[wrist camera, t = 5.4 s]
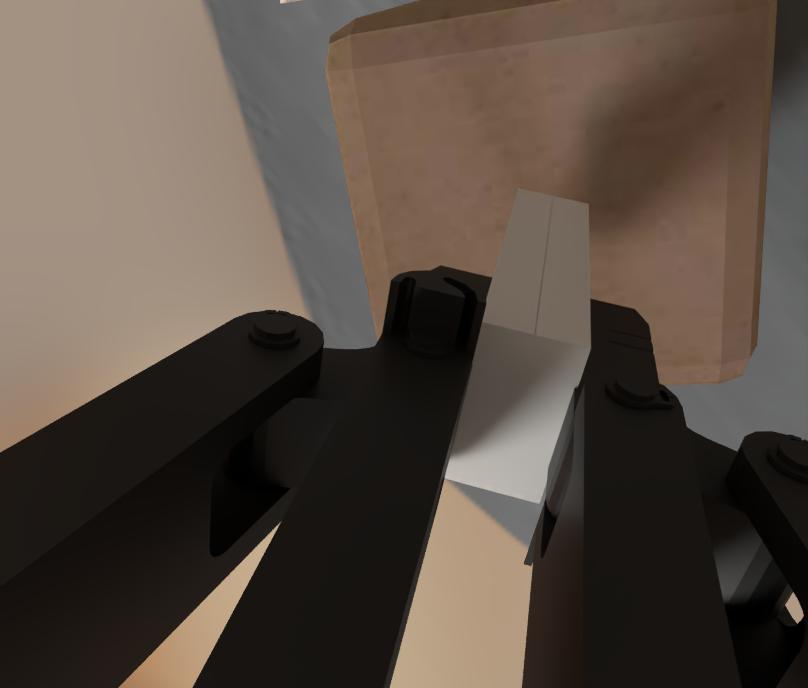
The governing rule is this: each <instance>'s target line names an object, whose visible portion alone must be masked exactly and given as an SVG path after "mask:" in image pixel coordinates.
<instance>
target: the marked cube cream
mask: <svg viewBox="0 0 808 688" xmlns="http://www.w3.org/2000/svg"><path fill="white" fill-rule="evenodd" d="M294 1H300V0H280V2H281V4H282V3H288V2H294Z"/></svg>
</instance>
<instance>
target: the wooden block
mask: <svg viewBox="0 0 808 688" xmlns="http://www.w3.org/2000/svg"><path fill="white" fill-rule="evenodd" d="M776 15H777V0H420V1H416V2H413V3H409V4H405V5H402V6H398V7H395V8H391V9H388V10H384V11H380V12H377V13H373V14H370V15H366V16H363V17H359V18H356V19H354V20H353V21H352V22H350V23H349V24H347V25H346V26H344V27H343V28H342V29H340V30H339V31H337V32H336V33H334V34H333V35H332V36H330V41H329V47H328V53H327V59H326V65H325V73H326V78H327V83H328V88H329V93H330V98H331V104H332V109H333V114H334V119H335V124H336V129H337V134H338V140H339V145H340V150H341V155H342V160H343V165H344V170H345V176H346V181H347V186H348V191H349V196H350V201H351V206H352V212H353V217H354V222H355V227H356V232H357V237H358V242H359V247H360V253H361V258H362V263H363V268H364V273H365V278H366V283H367V289H368V294H369V299H370V304H371V309H372V314H373V319H374V325H375V330H376V335H377V340H379V338H380V336H381V334H382V331H383V325H384V319H385V313H386V307H387V301H388V295H389V289H390V283H391V280H392V279H393V278H394V277H395V276H397V275H398V274H400V273H404V272H408V271H418V270H432V269H434V268H436V267H438V266H440V265H442V266H446V267H450V268H454V269H459V270H463V271H467V272H471V273H475V274H480V275H484V276H488V277H492V278H493V274H494V271H495V267H496V264H497V261H498V257H499V254H500V250H501V247H502V243H503V240H504V236H505V233H506V230H507V226H508V223H509V219H510V216H511V212H512V209H513V205H514V202H515V198H516V195H517V192H518V188H520V189H524V190H529V191H533V192H538V193H542V194H547V195H551V196H556V197H560V198H565V199H569V200H574V201H578V202H583V203H587V204H589V255H590V298H591V299H595V300H599V301H603V302H607V303H612V304H616V305H620V306H624V307H629V308H633V309H635V310H636V311H637V312H638V313H639V314H640V315H641V316H642V317H643V318H644V320H645V321H646V322H647V323H648V324H649V327H650V333H651V342H652V344H653V350H654V352H653V354H654V356H655V362H656V367H657V373H658V379H659V383H660V384H662V385H682V384H718V383H722V382H725V381H728V380H731V379H734V378H737V377H740V376H742V375H743V373H744V371H745V368H746V366H747V364H748V361H749V359H750V357H751V355H752V353H753V351H754V349H755V347H756V346H757V338H758V321H759V304H760V287H761V270H762V253H763V236H764V219H765V202H766V185H767V168H768V151H769V134H770V117H771V100H772V83H773V66H774V49H775V32H776Z"/></svg>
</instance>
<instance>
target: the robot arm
mask: <svg viewBox="0 0 808 688" xmlns="http://www.w3.org/2000/svg"><path fill="white" fill-rule="evenodd" d="M323 345H324V338H323V332H322V331H321V330H320V329H319V328H318V327H317V325H316V324H314V323H313V322H311V321H309V320H307V319H305V318H303V317H301V316H297V315H294V314H290V313H289V312H284V311H278V312H276V310H265V311H260V312H252V313H247V314H244V315H242V316H239V317H236V318H234V319H232V320H231V321H229V322H227V323H225V324H224V325H222V326H220V327H218V328H217V329H215V330H213V331H212V332H210V333H208V334H206V335H205V336H203V337H201V338H199V339H197V340H196V341H194V342H192V343H191V344H189V345H187V346H185V347H183V348H182V349H180V350H178V351H177V352H175V353H173V354H171V355H170V356H168V357H166V358H165V359H163V360H161V361H159V362H157V363H156V364H154V365H152V366H150V367H149V368H147V369H145V370H143V371H142V372H140V373H138V374H137V375H135V376H133V377H131V378H129V379H128V380H126V381H124V382H123V383H121V384H119V385H117V386H116V387H114V388H112V389H110V390H109V391H107V392H105V393H103V394H102V395H100V396H98V397H96V398H95V399H93V400H91V401H89V402H88V403H86V404H84V405H82V406H81V407H79V408H77V409H75V410H74V411H72V412H70V413H69V414H67V415H65V416H63V417H61V418H60V419H58V420H56V421H54V422H53V423H51V424H49V425H48V426H46V427H44V428H42V429H41V430H39V431H37V432H35V433H34V434H32V435H30V436H28V437H27V438H25V439H23V440H21V441H20V442H18V443H16V444H14V445H13V446H11V447H9V448H7V449H6V450H4V451H2V452H0V688H118V687H119V686H120V685H121V684H122V683H123V682H124V681H125V680H126V679H127V678H128V677H129V676H130V675H131V674H132V673H133V672H134V671H135V670H136V669H137V668H138V667H139V666H140V665H141V664H142V663H143V662H144V661H145V660H146V659H147V658H148V657H149V656H150V655H151V654H152V653H153V652H154V651H155V650H156V648H158V646H159V645H160V644H161V643H162V642H163V641H164V640H165V639H166V638H167V637H168V636H169V635H170V634H171V633H172V632H173V631H174V630H175V629H176V628H177V627H178V626H179V625H180V624H181V623H182V622H183V621H184V620H185V619H186V618H187V617H188V616H189V615H190V614H191V613H192V612H193V611H194V610H195V609H196V608H197V607H198V606H199V605H200V603H201V602H203V600H205V598H206V597H207V596H208V595H209V594H210V593H211V592H212V591H213V590H214V589H215V588H216V587H217V586H218V585H219V584H220V583H221V582H222V581H223V580H224V579H225V578H226V577H227V576H228V575H229V574H230V573H231V572H232V571H233V570H234V569H235V568H236V567H237V566H238V565H239V564H240V563H241V562H242V561H243V560H244V559H245V558H246V557H247V556H248V555H249V553H251V552H252V551H253V549H254V548H255V547H256V546H257V545H258V544H259V543H260V542H261V541H262V540H263V539H264V538H265V537H266V536H267V535H268V534H269V533H270V532H271V531H272V530H273V529H274V528H275V527H276V526H277V525H278V524H279V523H280V522H281V523H280V525H279V527H278V529H277V531H276V533H275V534H274V536H273V538H272V540H271V542H270V544H269V546H268V548H267V549H266V552H265V553H264V555H263V557H262V559H261V561H260V562H259V564H258V566H257V568H256V570H255V572H254V574H253V576H252V577H251V580H250V581H249V583H248V585H247V587H246V589H245V590H244V592H243V594H242V597H241V598H240V600H239V602H238V604H237V605H236V607H235V609H234V611H233V613H232V615H231V617H230V619H229V620H228V622H227V624H226V626H225V628H224V630H223V632H222V634H221V635H220V638H219V639H218V641H217V643H216V645H215V647H214V649H213V650H212V652H211V655H210V656H209V658H208V660H207V662H206V663H205V665H204V667H203V669H202V671H201V673H200V675H199V677H198V678H197V680H196V682H195V684H194V686H193V688H390V684H391V680H392V676H393V673H394V669H395V665H396V661H397V658H398V654H399V650H400V646H401V642H402V639H403V635H404V631H405V627H406V624H407V620H408V616H409V612H410V608H411V605H412V601H413V597H414V593H415V590H416V585H417V582H418V578H419V574H420V570H421V567H422V563H423V559H424V556H425V552H426V548H427V544H428V540H429V537H430V533H431V529H432V525H433V522H434V518H435V514H436V510H437V506H438V502H439V499H440V495H441V491H442V486H443V482H444V478H445V479H449V480H453V481H456V482H460V483H464V484H468V485H471V486H475V487H479V488H482V489H486V490H490V491H493V492H497V493H501V494H505V495H508V496H512V497H516V498H519V499H523V500H527V501H531V502H534V503H538V504H539V503H540V500H541V497H542V494H543V491H544V488H545V485H546V482H547V488H546V499H545V502H544V505H543V508H542V511H541V514H540V517H539V520H538V523H537V526H536V529H535V532H534V535H533V538H532V541H531V544H530V547H529V549H528V553H527V556H526V558H525V561H524V564H526V565H529V566H531V565H532V563H533V570H532V581H531V592H530V604H529V614H528V626H527V637H526V648H525V659H524V670H523V681H522V682H523V683H522V688H808V441H807V440H801V438H799V437H796V436H793V435H785V434H781V433H777V432H772V431H765V432H754V433H751V434H749V435H747V436H745V437H744V439H743V441H742V443H741V445H740V447H739V449H738V451H735V450H732V449H730V448H728V447H725V446H723V445H721V444H718V443H716V442H714V441H712V440H709V439H707V438H705V437H703V436H701V435H699V434H697V433H695V432H694V431H692V430H691V429H689V428H688V427H687V426H686V422H685V417H684V412H683V408H682V406H681V404H680V402H679V400H678V398H677V397H676V396H675V395H674V394H673V393H672V392H671V391H670V390H669V389H667V388H666V387H665V386H664V385H662V384H660V383H659V379H658V373H657V367H656V362H655V356H654V354H653V352H654V350H653V344H652V342H651V333H650V327H649V324H648V323H647V322H646V321H645V320H644V318H643V317H642V316H641V315H640V314H639V313H638V312H637V311H636V310H635V309H633V308H629V307H624V306H620V305H616V304H612V303H607V302H603V301H599V300H595V299H591V298H590V255H589V204H587V203H583V202H578V201H574V200H569V199H565V198H560V197H556V196H551V195H547V194H542V193H538V192H533V191H529V190H524V189H520V188H518V192H517V195H516V198H515V202H514V205H513V209H512V212H511V216H510V219H509V223H508V226H507V230H506V233H505V236H504V240H503V243H502V247H501V250H500V254H499V257H498V261H497V264H496V267H495V271H494V274H493V278H492V277H488V276H484V275H480V274H475V273H471V272H467V271H463V270H459V269H454V268H450V267H446V266H442V265H440V266H438V267H436V268H434V269H432V270H418V271H408V272H404V273H400V274H398V275H397V276H395V277H394V278H393V279H392V280H391V283H390V289H389V295H388V301H387V307H386V313H385V319H384V325H383V331H382V334H381V336H380V338H379V340H378V342H377V344H376V345H375V346H374V347H371V348H364V349H332V348H323ZM793 592H794V594H795V595H796V597H797V599H798V601H799V603H800V606H801V608H802V610H803V614H804V617H803V618H802V620H801V621H800V622H799V623H798V624H797V623H796V622H795V620H794V619H793V618H792V616H791V615H790V613H789V611H788V609H787V608H786V606H785V604H786V603H787V601H788V599H789V598H790V596H791V594H792V593H793Z"/></svg>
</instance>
